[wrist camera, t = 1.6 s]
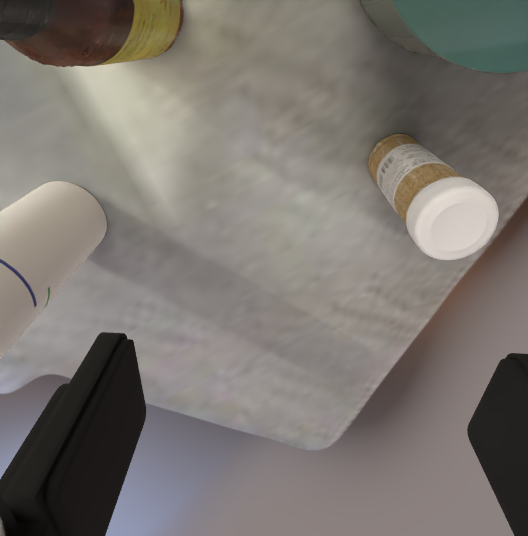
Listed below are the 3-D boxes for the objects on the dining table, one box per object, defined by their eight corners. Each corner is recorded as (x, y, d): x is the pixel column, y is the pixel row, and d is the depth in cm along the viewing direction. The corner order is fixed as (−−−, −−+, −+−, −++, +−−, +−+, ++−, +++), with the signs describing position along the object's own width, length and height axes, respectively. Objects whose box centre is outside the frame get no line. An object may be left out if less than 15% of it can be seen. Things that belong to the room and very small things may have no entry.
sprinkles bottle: (398, 194, 34) (459, 275, 23) (356, 169, 33) (398, 241, 22) (433, 148, 32) (521, 212, 20) (389, 121, 31) (456, 172, 19)
